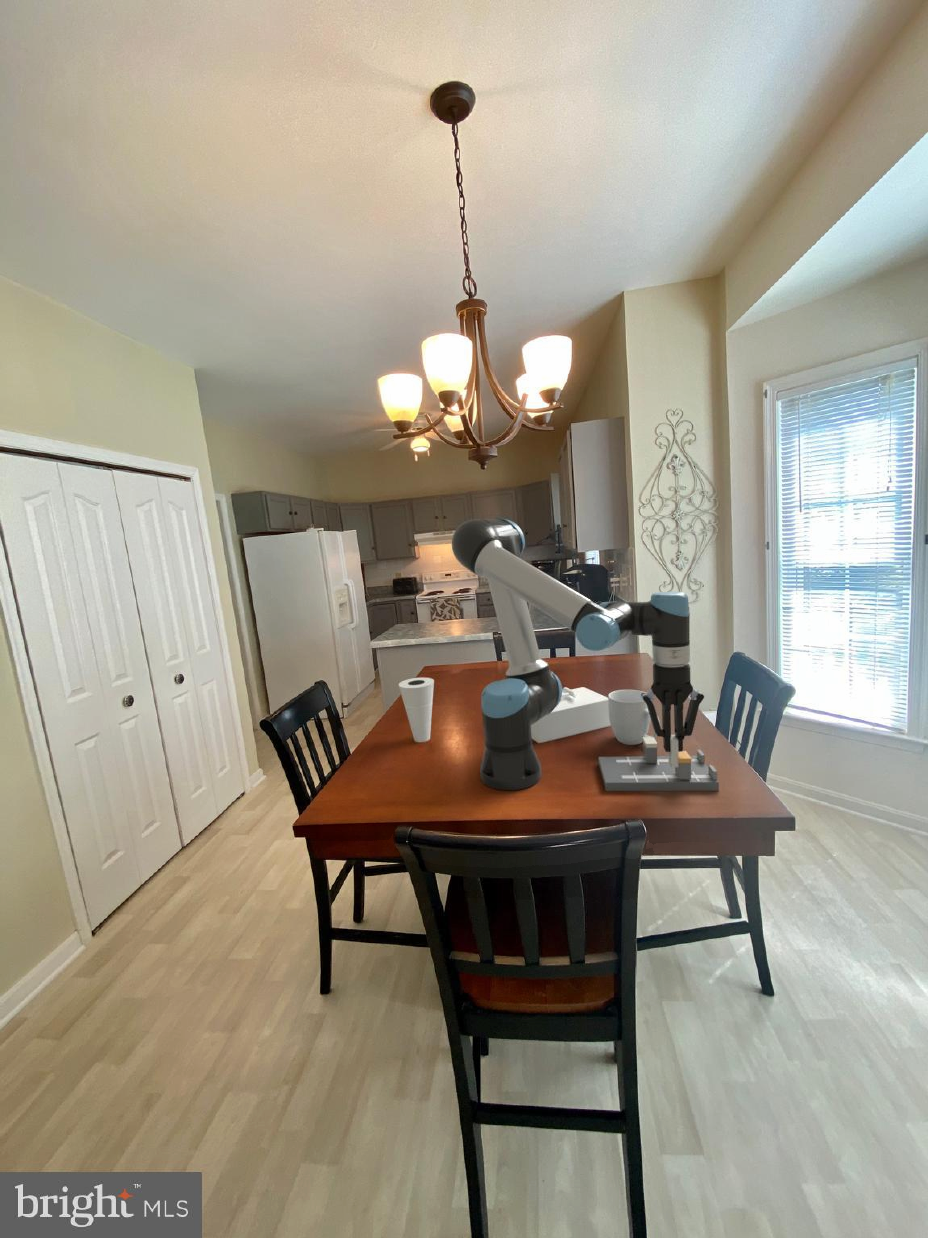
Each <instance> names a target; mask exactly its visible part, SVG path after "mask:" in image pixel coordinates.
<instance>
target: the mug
mask: <svg viewBox="0 0 928 1238" xmlns="http://www.w3.org/2000/svg"><path fill="white" fill-rule="evenodd" d="M642 693H646V692H645V691H642V690H636V689H618V690H614V691H611V692H610V693H608V696H607V698H608V706H609V718H610V723H611V726H610V728H611V731H612V733H613V735H614V737H615V738H616V740H617V741H618V742H619V743H621V744H623V745H627V746H635V745H640V744H642V743H643V737H654V739H657V737H659V736H657V734H656V733H655V732H654V734H652V735H648V733H649V730H650V724H651V718H650V714H649V711H648V708H647V704H646V703H645V701H644V700H643V698H642V697H641V694H642ZM657 717H658V721H659V724H660V727H661V726H662V725H661V721H660V718H659V716H658V715H657ZM661 728H662V727H661Z"/></svg>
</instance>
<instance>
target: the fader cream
mask: <svg viewBox="0 0 928 1238" xmlns="http://www.w3.org/2000/svg"><path fill="white" fill-rule="evenodd" d="M642 743H643V744H642V745H643V747H642V748H643V750H642V751H643V756H644V758H645V760H646V762H647V763H657V756H658V748H659V747H658V746H659V745H658V742H657V741H656V738H654V737H643V742H642Z"/></svg>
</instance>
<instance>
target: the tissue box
mask: <svg viewBox="0 0 928 1238" xmlns="http://www.w3.org/2000/svg"><path fill="white" fill-rule="evenodd" d="M607 727H611V723H610V718H609V706H608V696H606V695H602V694H600V693H598V692H595V690H594V691H593V690H591V689H589V688H587V687H584V686H581V687H577V688H573V689H570V688H568V687H562V697H561V700H560V702H559V704H558V705H557V706H556V707H555V708H554V710H553V711H552V712H551V713H549V714H547V715H545V716H544V717H542V718H541V719H540V720H538V721H537V722H535V723H534V724H532V725H531V733H532V740H533V741H535V742H536V743H538V744H541V743H542V744H543V743H546V742H550V741H554V740H558V739H562V738H566V737H570V736H575V735H579V734H581V733H587V732H591V731H594V730H595V731H596V730H598V729H603V728H607Z"/></svg>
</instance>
